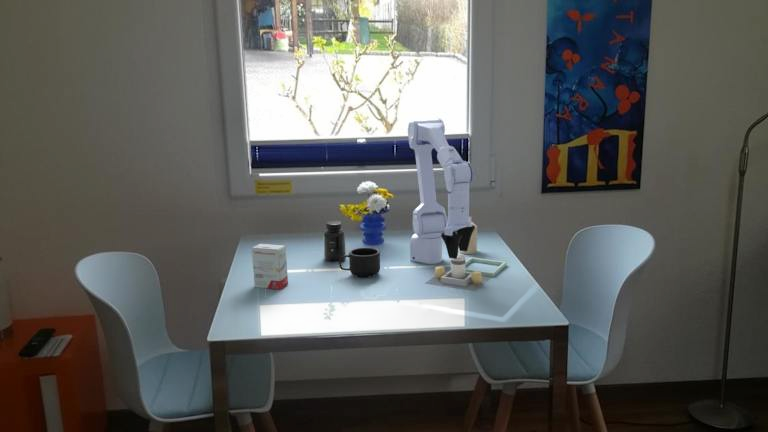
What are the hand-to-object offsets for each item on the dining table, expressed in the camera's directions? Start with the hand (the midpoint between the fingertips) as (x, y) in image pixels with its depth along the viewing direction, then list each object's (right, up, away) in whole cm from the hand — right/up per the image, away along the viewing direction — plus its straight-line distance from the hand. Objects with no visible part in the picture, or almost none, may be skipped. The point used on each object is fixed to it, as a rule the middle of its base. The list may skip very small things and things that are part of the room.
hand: (458, 254), depth 198 cm
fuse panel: (0, -8, +2) cm, 9 cm away
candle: (+7, -1, +32) cm, 33 cm away
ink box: (-53, -9, +4) cm, 54 cm away
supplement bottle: (-36, -3, +27) cm, 45 cm away
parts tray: (+8, -6, +12) cm, 16 cm away
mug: (-28, -7, +12) cm, 31 cm away
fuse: (0, -7, +2) cm, 8 cm away
